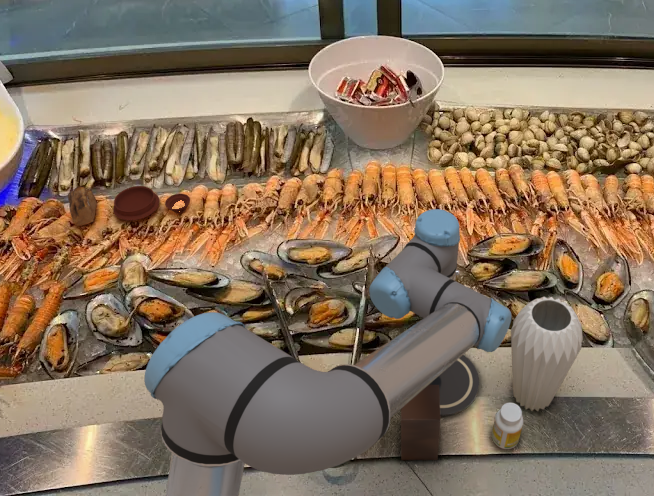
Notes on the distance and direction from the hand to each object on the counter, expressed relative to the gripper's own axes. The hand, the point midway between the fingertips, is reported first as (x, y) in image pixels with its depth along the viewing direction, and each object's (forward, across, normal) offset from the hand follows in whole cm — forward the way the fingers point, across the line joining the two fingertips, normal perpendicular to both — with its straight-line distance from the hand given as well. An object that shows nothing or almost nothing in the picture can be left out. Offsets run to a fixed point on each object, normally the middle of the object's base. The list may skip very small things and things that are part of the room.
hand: (431, 355), depth 136 cm
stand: (+7, -16, +1) cm, 17 cm away
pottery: (+7, +43, +77) cm, 89 cm away
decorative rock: (+7, +39, +94) cm, 102 cm away
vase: (+7, -3, -21) cm, 23 cm away
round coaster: (+7, -2, -2) cm, 7 cm away
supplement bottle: (+7, -13, -16) cm, 21 cm away
